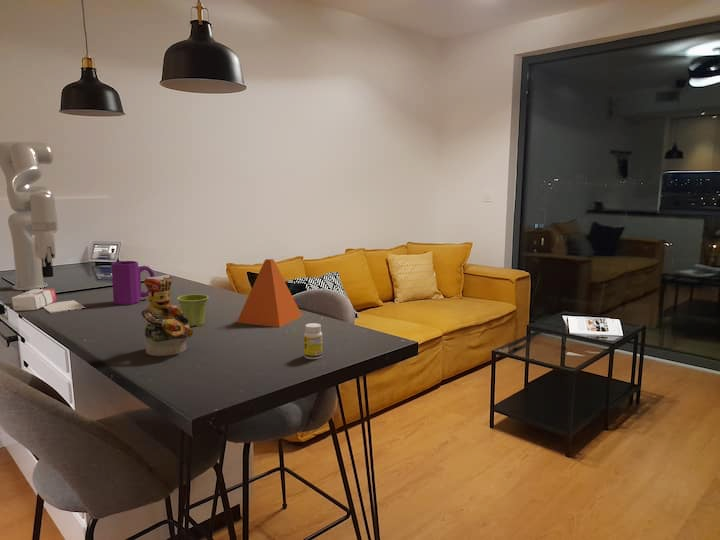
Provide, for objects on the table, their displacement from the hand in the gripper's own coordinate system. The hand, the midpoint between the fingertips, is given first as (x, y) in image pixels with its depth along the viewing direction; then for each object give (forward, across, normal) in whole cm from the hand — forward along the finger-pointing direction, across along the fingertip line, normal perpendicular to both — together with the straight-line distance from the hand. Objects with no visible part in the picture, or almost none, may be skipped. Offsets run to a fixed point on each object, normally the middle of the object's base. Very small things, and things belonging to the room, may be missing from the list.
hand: (48, 276), depth 195 cm
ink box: (+6, +2, -2) cm, 7 cm away
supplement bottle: (+8, +116, +35) cm, 121 cm away
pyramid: (+9, +76, +48) cm, 90 cm away
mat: (+9, +14, +1) cm, 16 cm away
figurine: (+8, +87, +9) cm, 87 cm away
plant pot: (+9, +66, +26) cm, 71 cm away
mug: (+9, +21, +24) cm, 33 cm away
